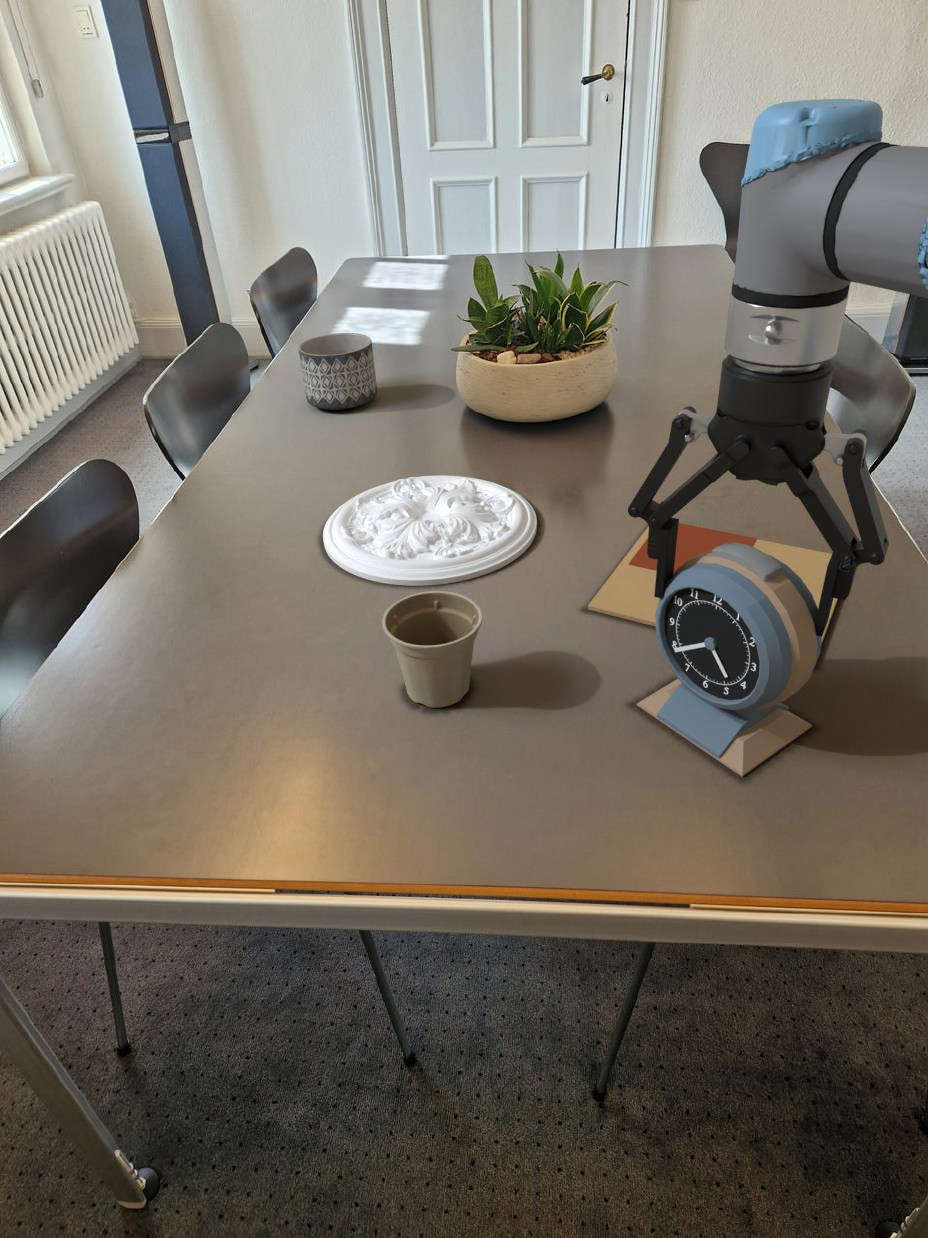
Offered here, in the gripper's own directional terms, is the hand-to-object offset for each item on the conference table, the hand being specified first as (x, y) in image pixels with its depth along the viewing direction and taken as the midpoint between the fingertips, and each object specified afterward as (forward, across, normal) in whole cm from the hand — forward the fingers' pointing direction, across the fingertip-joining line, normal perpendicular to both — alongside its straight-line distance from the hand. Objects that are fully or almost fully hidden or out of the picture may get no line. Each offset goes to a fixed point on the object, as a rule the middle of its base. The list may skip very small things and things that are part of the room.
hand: (738, 608), depth 72 cm
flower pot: (+12, -26, -8) cm, 30 cm away
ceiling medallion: (+12, -44, +20) cm, 50 cm away
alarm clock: (+12, 0, 0) cm, 12 cm away
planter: (+12, -83, +54) cm, 100 cm away
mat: (+12, -6, +22) cm, 26 cm away
